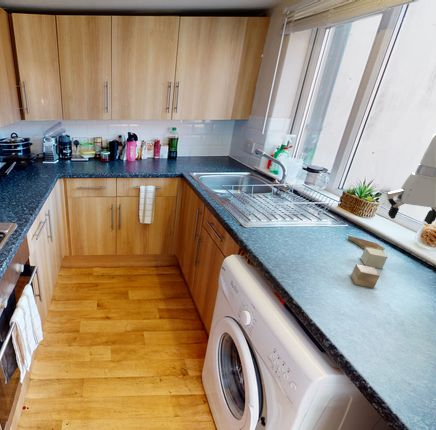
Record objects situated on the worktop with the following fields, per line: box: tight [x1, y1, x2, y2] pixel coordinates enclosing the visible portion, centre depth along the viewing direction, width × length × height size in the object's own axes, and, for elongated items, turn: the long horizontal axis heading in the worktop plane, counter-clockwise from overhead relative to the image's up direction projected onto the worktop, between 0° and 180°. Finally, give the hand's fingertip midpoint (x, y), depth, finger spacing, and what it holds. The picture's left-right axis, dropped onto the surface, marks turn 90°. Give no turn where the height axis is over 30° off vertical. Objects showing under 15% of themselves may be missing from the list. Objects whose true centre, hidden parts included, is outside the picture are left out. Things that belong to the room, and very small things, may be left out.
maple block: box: [350, 263, 381, 289], centre depth 95 cm, size 5×5×5 cm
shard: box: [347, 235, 386, 252], centre depth 118 cm, size 11×8×2 cm
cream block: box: [360, 247, 388, 269], centre depth 105 cm, size 5×5×5 cm
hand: (409, 219), depth 99 cm, fingers open, 9 cm apart
